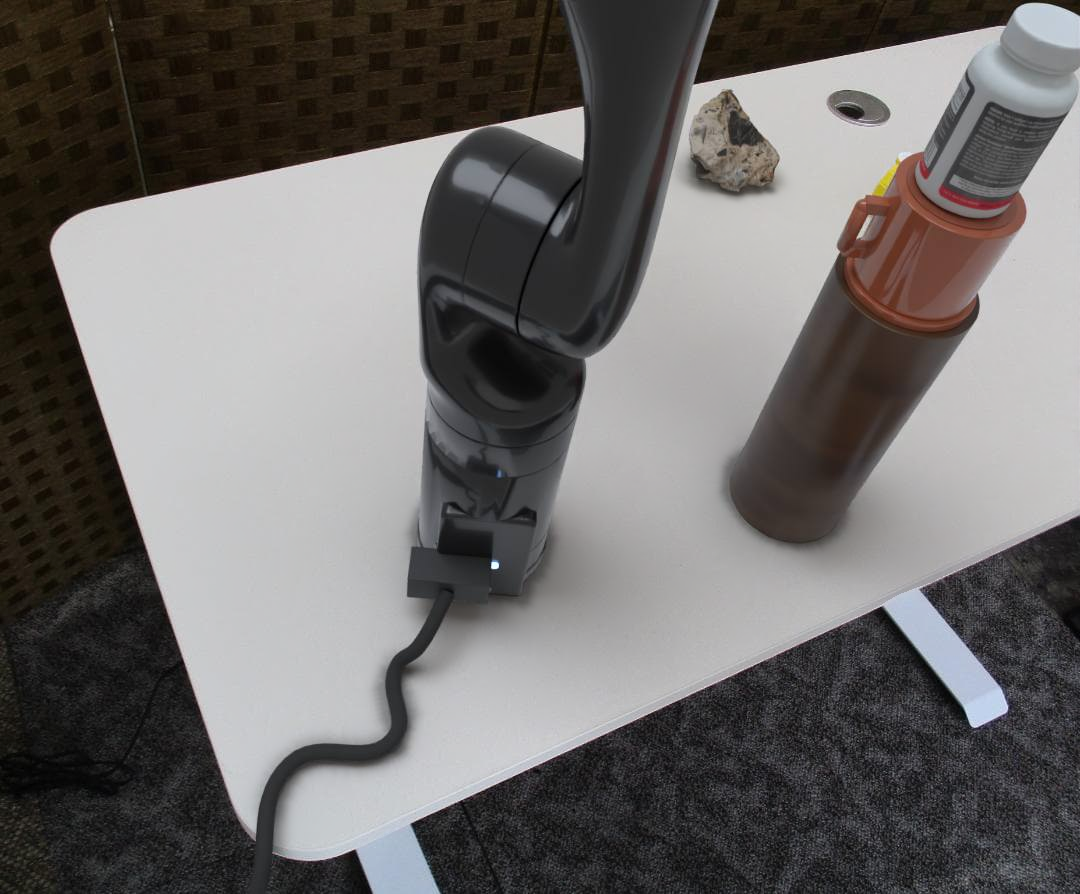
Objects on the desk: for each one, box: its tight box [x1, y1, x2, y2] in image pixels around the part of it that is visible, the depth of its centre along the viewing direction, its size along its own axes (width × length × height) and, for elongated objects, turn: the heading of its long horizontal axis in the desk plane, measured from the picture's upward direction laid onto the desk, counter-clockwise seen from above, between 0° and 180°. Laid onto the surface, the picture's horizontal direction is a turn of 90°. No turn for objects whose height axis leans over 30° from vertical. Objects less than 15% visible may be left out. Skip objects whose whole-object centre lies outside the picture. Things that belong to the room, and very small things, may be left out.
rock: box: [688, 88, 781, 192], centre depth 100 cm, size 9×7×10 cm
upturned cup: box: [836, 150, 1027, 332], centre depth 57 cm, size 8×9×7 cm
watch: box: [871, 151, 914, 197], centre depth 100 cm, size 6×3×6 cm, turn 126°
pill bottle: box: [915, 2, 1080, 218], centre depth 51 cm, size 5×5×10 cm
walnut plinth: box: [729, 236, 981, 544], centre depth 69 cm, size 9×9×23 cm
